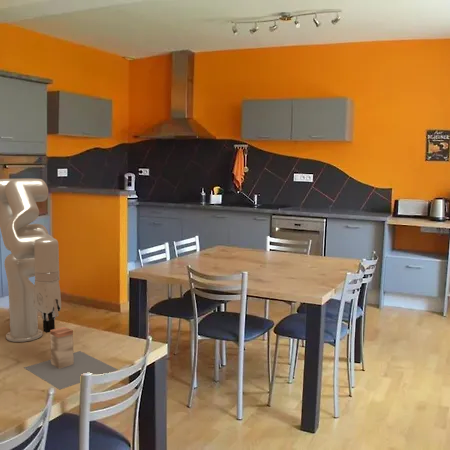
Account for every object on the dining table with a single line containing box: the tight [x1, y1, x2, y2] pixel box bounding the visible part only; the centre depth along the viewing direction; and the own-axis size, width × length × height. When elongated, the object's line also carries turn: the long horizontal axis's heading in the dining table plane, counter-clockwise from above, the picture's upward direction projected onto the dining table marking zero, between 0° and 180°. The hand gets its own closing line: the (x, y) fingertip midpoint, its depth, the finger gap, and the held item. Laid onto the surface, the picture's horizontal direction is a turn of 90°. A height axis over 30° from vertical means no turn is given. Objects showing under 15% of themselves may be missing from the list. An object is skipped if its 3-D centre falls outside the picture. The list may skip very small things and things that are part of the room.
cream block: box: [49, 326, 74, 369], centre depth 169 cm, size 5×5×11 cm
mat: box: [23, 350, 119, 391], centre depth 167 cm, size 22×20×1 cm
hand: (49, 331), depth 174 cm, fingers closed
